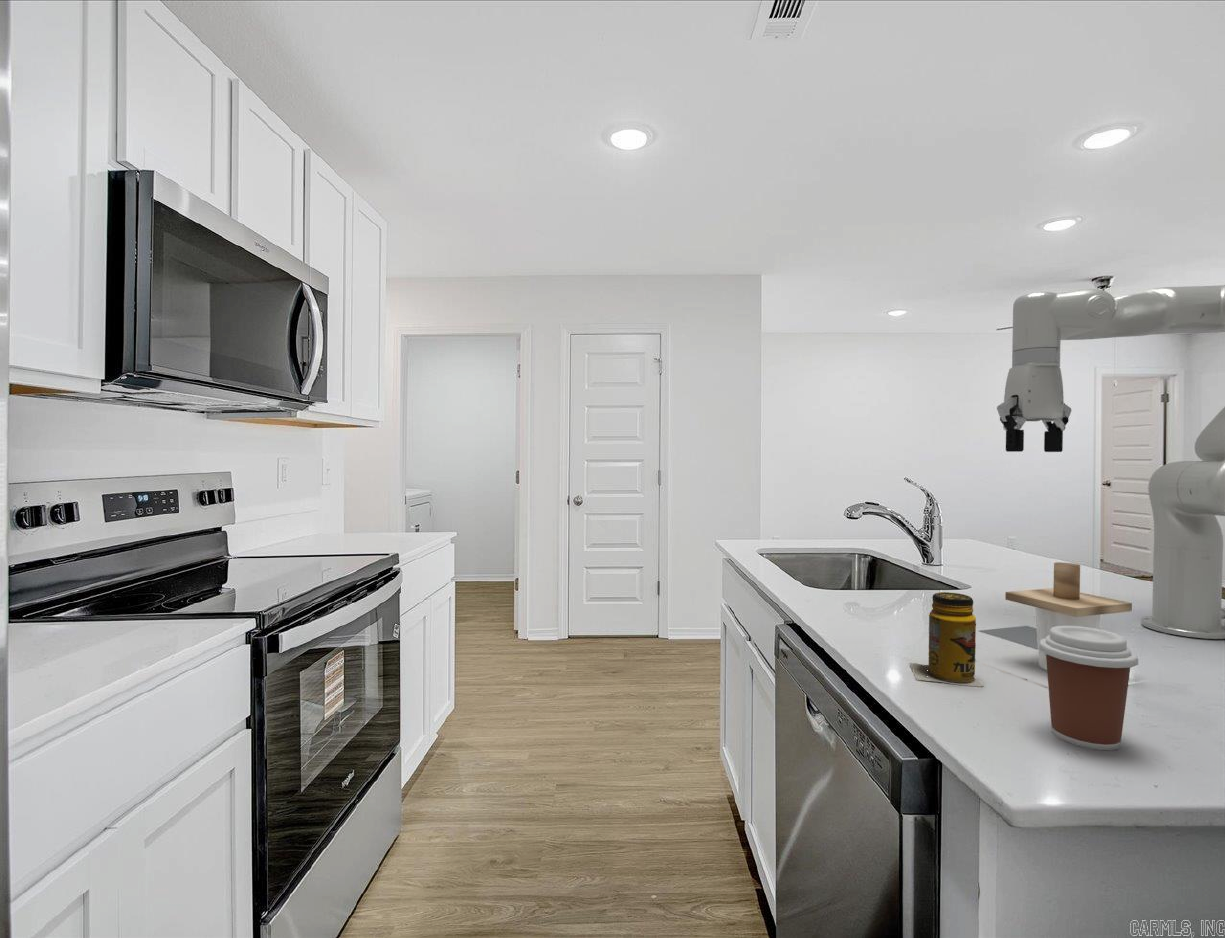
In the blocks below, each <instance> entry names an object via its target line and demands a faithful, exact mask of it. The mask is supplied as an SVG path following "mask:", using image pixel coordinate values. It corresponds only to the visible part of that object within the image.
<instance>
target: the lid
mask: <svg viewBox="0 0 1225 938" xmlns="http://www.w3.org/2000/svg"><path fill="white" fill-rule="evenodd" d="M1004 596H1005V601H1009V602H1013V603H1017V604H1022V605H1025V606H1029V607H1033V608H1036V607H1037V608H1042V609H1046V610H1050V611H1054V612H1058V613H1062V614H1066V615H1070V616H1074V617H1081V616H1091V615H1100V616H1101V615H1108V614H1120V613H1130V612H1132V610H1133V603H1132V602H1129V601H1123V600H1118V599H1114V598H1109V597H1105V596H1104V597H1103V596H1099V595H1093V594H1090V593H1084V592H1081V565H1080V564H1078V563H1074V562H1072V563H1071V562H1062V561H1061V562H1054V563H1053V587H1052V588H1050V587H1049V588H1039V589H1027V590H1026V589H1025V590H1015V591H1005V595H1004Z"/></svg>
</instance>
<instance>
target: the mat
mask: <svg viewBox="0 0 1225 938" xmlns="http://www.w3.org/2000/svg"><path fill="white" fill-rule="evenodd" d="M978 632H980V633H983V634H986V635H989V636H992V637H996V638H999V639H1002V640H1005V641H1008V642H1011V643H1015V644H1018V645H1022V646H1026V647H1028V648H1031V649H1034V650H1038V648H1037V646H1038V644H1037V631H1036V627H1034V626H1029V625H1022V626H1010V627H1001V628H990V629H982V630H978ZM1038 651H1039V650H1038Z"/></svg>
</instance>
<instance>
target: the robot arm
mask: <svg viewBox="0 0 1225 938" xmlns="http://www.w3.org/2000/svg"><path fill="white" fill-rule="evenodd" d="M1012 305H1013V306H1012V341H1011V342H1012V345H1011V349H1012V351H1011V352H1012V354H1011V359H1012V360H1011V367H1010V368H1009V369H1008V373H1007V377H1006V380H1005V381H1006V382H1005V387H1004V398H1003V402H1002V403H1000V404H999V405H997V406H996V410H997V413H998V416H999V421H1000V423H1001V424H1002V425H1003V427H1002V428H1003V430H1004V431H1005V452H1006V453H1007V452H1010V453H1011V452H1016V453H1017V452H1019V453H1020V452H1023V451H1024V450H1025V449H1024V447H1025V444H1024V443H1025V441H1024V440H1025V430H1024V429H1022V428H1023V426H1024V425H1025V423H1026V422H1039V421H1041V422H1042V423H1043V425H1044V426H1045V428H1046V430H1044V433H1043V434H1044V435H1043V436H1044V438H1043V439H1044V440H1043V443H1044V444H1043V451H1044V452H1045V453H1062V452H1063V451H1064V449H1063V447H1064V445H1063V443H1064V440H1063V439H1064V438H1063V437H1064V436H1063V435H1064V431H1066V425H1067V424H1068V423H1069V419H1070V416H1071V413H1072V408H1071V407H1070V406H1069V405H1068V404H1066V403H1064V401H1065V400H1064V399H1065V398H1064V397H1065V396H1064V383H1063V376H1062V371H1061V370H1062V369H1061V341H1083V340H1084V341H1085V340H1096V339H1097V340H1099V339H1111V338H1113V339H1114V338H1126V337H1127V338H1128V337H1143V336H1149V335H1173V334H1174V335H1175V334H1179V335H1180V334H1213V333H1214V334H1216V333H1225V284H1221V285H1219V284H1218V285H1197V286H1195V285H1193V286H1163V287H1162V286H1161V287H1156V288H1155V287H1154V288H1151V289H1150V288H1149V289H1145V290H1142V291H1137V292H1133V293H1130V294H1125V295H1122V296H1117V297H1114V296H1113V295H1112V294H1111V293H1109V292H1108V291H1105V290H1103V289H1097V288H1087V289H1081V290H1073V291H1065V292H1054V291H1053V292H1052V291H1038V292H1031V293H1026V294H1023V295H1021V296H1019V297H1017V298H1016V299H1015V300H1014V301H1013V304H1012ZM1194 451H1195V455H1196V456H1197V458H1198V459H1200V460H1182V461H1180V460H1179V461H1173V462H1169V463H1166V464H1163V465H1162V466H1160V467H1158V468H1157V469H1156V470H1154V472H1153V473H1152V475H1151V476H1150V478H1149V481H1148V487H1147V489H1148V491H1147V492H1148V497H1149V501H1150V507H1151V511H1152V516H1153V553H1152V554H1153V557H1152V559H1153V563H1152V566H1153V567H1152V608H1151V609H1152V611H1151V615H1148V616H1143V617H1141V625H1142V626H1143V627H1146V628H1147V629H1151V630H1154V631H1157V632H1161V633H1165V634H1171V635H1176V636H1181V637H1187V638H1195V639H1205V640H1225V625H1222V620H1224V619H1225V607H1222V599H1223V598H1222V597H1223V594H1222V593H1223V563H1224V562H1223V560H1224V559H1223V555H1224V554H1223V553H1224V552H1223V551H1224V536H1223V532H1222V528H1221V525H1220V523H1219V521H1218V519H1217V517H1216V516H1221V517H1225V406H1224V407H1223V408H1222V409H1221V410H1220V411H1219V412H1218V413H1217V414H1216V415H1215V416H1214V418H1212V419H1211V421H1210V422H1209V423H1208V424H1207V425H1206V426H1205V428H1203V429H1202V431H1201V432H1200V433H1199V435H1198V436H1197V438H1196V441H1195V442H1194Z"/></svg>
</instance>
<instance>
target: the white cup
mask: <svg viewBox="0 0 1225 938" xmlns="http://www.w3.org/2000/svg"><path fill="white" fill-rule="evenodd" d="M1100 618H1101V615H1091V616H1081V617H1074V616H1070V615H1066V614H1062V613H1058V612H1054V611H1050V610H1046V609H1042V608H1037V607H1035V622H1036V625H1035V628H1036V631H1037V644H1038V646H1037V648H1038V666H1039V667H1040V668H1041V669H1043V670H1046V671H1047V661H1046V654H1045V653H1044V652H1042V651H1041V650H1039V644H1040V640H1041V639H1044V638H1046V636H1048V635H1050V629H1051V628H1052V627H1056V626H1080V627H1088V628H1095V629H1100Z"/></svg>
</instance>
